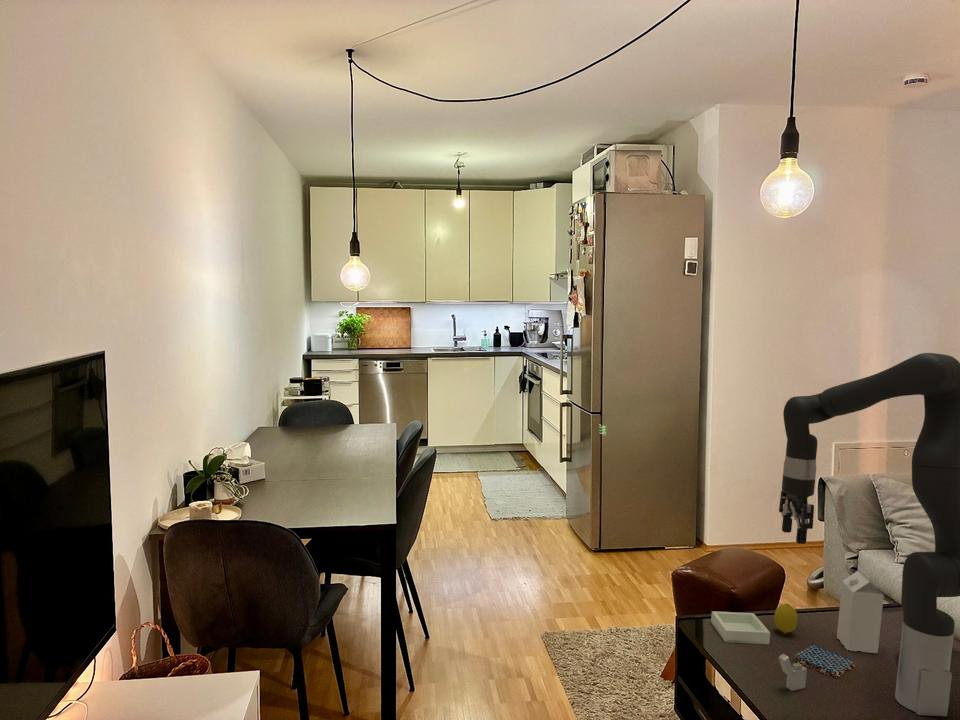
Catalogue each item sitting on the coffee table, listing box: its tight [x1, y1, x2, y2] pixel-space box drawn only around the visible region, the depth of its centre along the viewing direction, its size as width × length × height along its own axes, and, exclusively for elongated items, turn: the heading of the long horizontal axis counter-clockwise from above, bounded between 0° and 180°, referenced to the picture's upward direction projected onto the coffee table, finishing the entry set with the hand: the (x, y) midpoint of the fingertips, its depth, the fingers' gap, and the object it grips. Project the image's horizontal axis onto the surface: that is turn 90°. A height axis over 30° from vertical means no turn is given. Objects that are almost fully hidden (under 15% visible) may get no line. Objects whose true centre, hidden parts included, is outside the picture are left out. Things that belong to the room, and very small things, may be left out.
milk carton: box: [836, 566, 885, 654], centre depth 181 cm, size 7×7×19 cm
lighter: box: [778, 653, 808, 692], centre depth 159 cm, size 7×2×8 cm, turn 113°
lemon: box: [773, 602, 799, 635], centre depth 186 cm, size 6×6×8 cm
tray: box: [710, 610, 771, 645], centre depth 185 cm, size 11×11×3 cm
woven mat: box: [794, 644, 856, 678], centre depth 172 cm, size 10×11×2 cm
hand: (793, 537), depth 184 cm, fingers open, 8 cm apart
